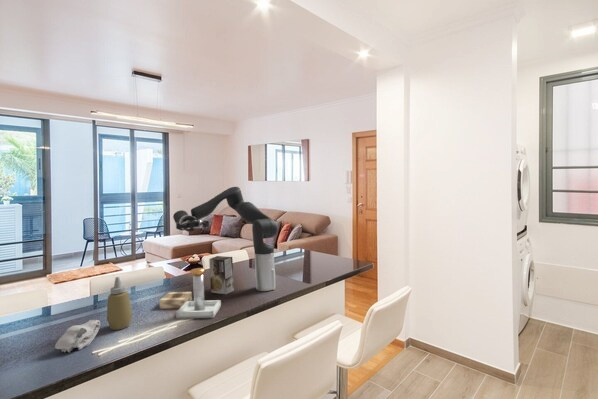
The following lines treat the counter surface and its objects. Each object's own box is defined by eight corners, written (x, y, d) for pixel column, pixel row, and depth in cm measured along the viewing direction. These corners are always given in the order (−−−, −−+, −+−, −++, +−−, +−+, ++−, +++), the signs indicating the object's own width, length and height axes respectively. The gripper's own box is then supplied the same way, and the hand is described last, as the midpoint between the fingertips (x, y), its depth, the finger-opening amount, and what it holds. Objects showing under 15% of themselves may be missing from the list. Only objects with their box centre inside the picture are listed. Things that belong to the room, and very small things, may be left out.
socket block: (192, 299, 145) (191, 291, 145) (184, 307, 135) (183, 299, 135) (169, 300, 145) (169, 292, 145) (159, 308, 135) (159, 300, 135)
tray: (221, 306, 136) (220, 300, 136) (213, 317, 124) (213, 311, 124) (187, 306, 136) (187, 301, 136) (176, 318, 124) (176, 312, 124)
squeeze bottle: (137, 323, 121) (135, 275, 120) (119, 333, 113) (116, 281, 112) (120, 321, 124) (118, 273, 123) (101, 330, 116) (98, 279, 115)
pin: (207, 307, 133) (206, 267, 132) (204, 312, 128) (202, 271, 127) (195, 307, 133) (193, 268, 132) (190, 312, 128) (189, 271, 127)
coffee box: (234, 290, 156) (233, 256, 155) (226, 294, 150) (224, 259, 150) (218, 288, 160) (217, 255, 159) (210, 292, 154) (208, 258, 153)
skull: (47, 345, 100) (76, 308, 108) (71, 357, 106) (97, 322, 113) (58, 349, 96) (88, 311, 104) (83, 362, 101) (110, 325, 109)
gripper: (203, 229, 165) (212, 232, 151) (173, 232, 158) (179, 236, 144) (202, 214, 165) (211, 216, 151) (172, 216, 158) (178, 219, 143)
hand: (195, 226), depth 147 cm, fingers open, 8 cm apart
